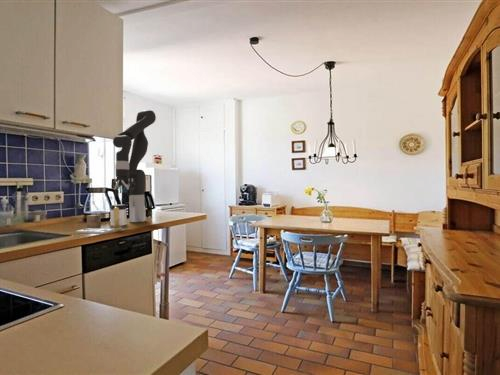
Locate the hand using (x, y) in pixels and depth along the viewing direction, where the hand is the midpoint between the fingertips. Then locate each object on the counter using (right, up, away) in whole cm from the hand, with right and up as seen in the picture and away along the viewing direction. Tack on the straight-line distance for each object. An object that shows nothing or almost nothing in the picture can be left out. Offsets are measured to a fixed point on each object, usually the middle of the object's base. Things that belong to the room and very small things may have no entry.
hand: (122, 195), depth 190 cm
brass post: (+4, -18, -18) cm, 26 cm away
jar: (-2, -18, 0) cm, 18 cm away
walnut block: (-13, -18, -9) cm, 24 cm away
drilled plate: (-4, -18, -25) cm, 31 cm away
